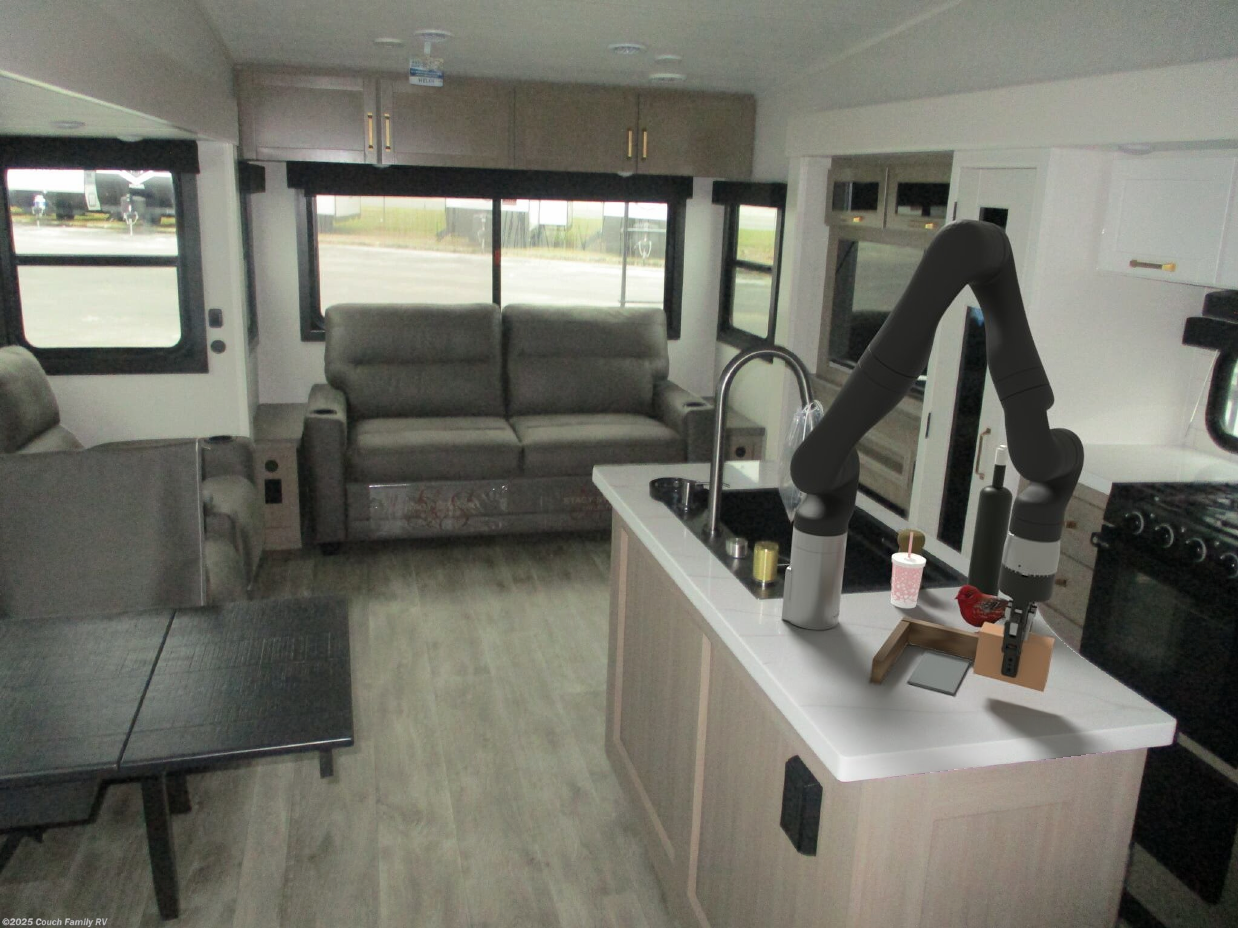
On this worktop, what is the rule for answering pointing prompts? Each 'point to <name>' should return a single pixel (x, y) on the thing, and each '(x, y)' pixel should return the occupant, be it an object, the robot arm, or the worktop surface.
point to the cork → (917, 543)
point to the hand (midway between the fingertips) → (1011, 669)
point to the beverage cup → (906, 577)
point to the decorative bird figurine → (980, 606)
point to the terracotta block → (1030, 663)
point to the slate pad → (939, 672)
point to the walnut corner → (921, 643)
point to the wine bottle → (991, 529)
